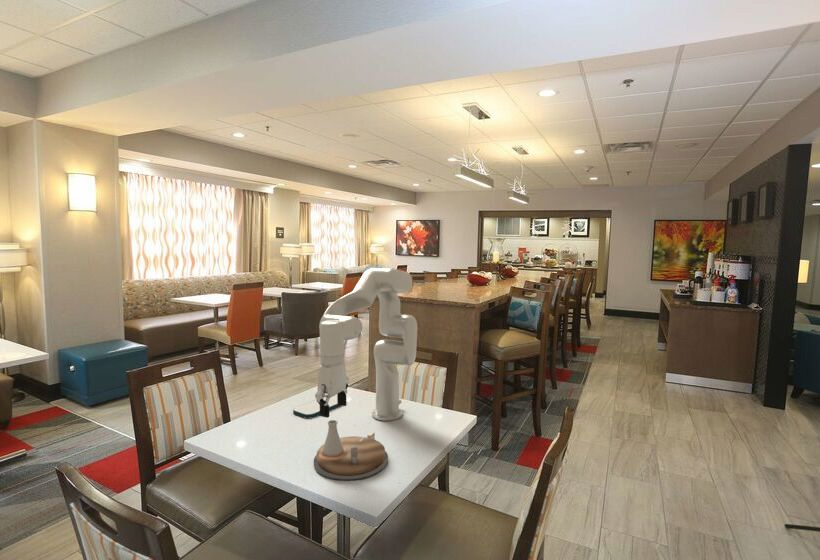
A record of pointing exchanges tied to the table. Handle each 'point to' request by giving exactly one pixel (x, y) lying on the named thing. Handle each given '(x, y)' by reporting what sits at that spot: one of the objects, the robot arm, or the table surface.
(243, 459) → the table surface
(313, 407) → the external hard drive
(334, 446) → the flask
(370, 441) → the turntable
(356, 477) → the base
